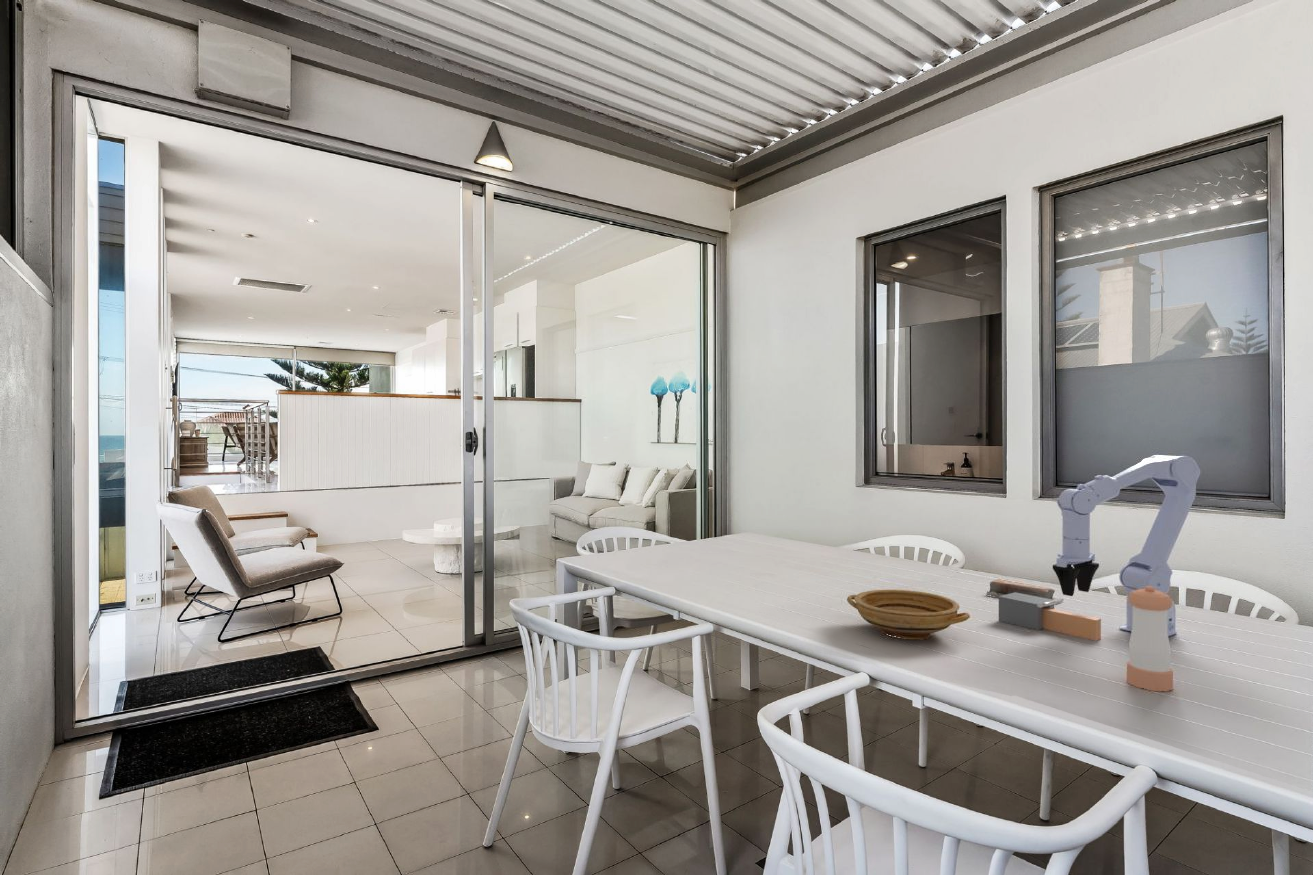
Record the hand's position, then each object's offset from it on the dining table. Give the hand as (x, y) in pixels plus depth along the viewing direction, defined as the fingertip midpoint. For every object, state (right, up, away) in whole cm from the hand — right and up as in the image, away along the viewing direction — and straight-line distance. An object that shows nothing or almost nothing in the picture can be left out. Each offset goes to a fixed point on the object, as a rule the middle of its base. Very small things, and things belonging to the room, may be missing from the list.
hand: (1075, 593), depth 167 cm
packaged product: (+5, -10, +33) cm, 35 cm away
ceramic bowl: (-42, -10, 0) cm, 43 cm away
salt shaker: (-7, -10, -35) cm, 37 cm away
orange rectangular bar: (-3, -10, 0) cm, 10 cm away
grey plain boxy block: (-8, -10, +8) cm, 15 cm away
